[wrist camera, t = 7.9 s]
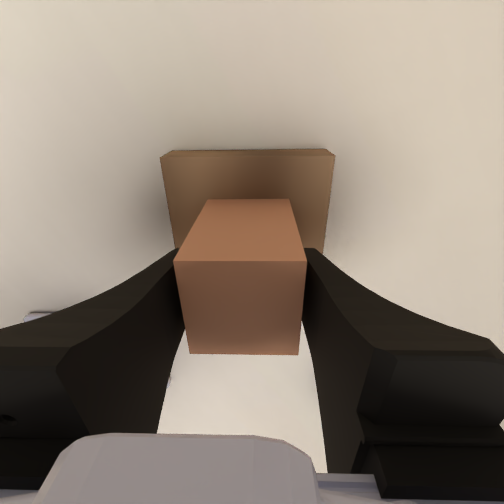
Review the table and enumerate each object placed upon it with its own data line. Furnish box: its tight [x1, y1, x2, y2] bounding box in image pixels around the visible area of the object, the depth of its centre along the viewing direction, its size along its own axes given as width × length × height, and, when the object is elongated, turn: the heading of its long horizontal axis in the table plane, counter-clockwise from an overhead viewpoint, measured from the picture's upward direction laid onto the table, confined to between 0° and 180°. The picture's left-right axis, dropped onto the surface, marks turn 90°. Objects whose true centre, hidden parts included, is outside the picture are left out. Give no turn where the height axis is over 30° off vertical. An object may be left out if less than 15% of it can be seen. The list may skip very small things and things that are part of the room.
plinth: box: [160, 149, 335, 254], centre depth 15 cm, size 8×8×2 cm
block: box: [173, 199, 307, 355], centre depth 12 cm, size 4×4×6 cm
